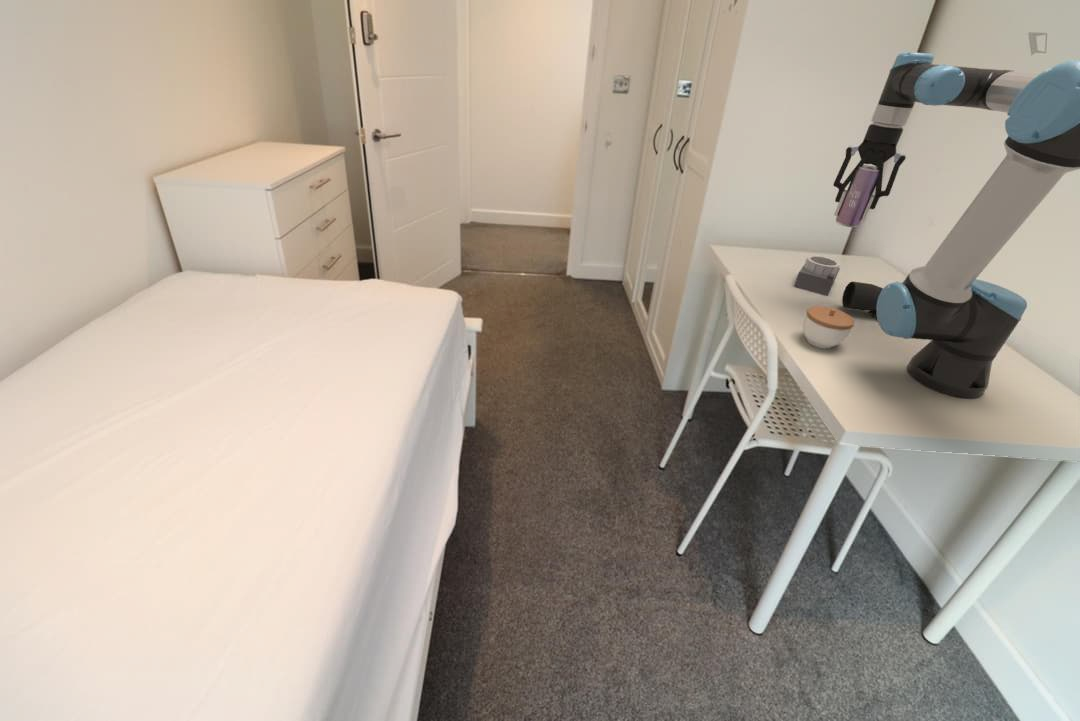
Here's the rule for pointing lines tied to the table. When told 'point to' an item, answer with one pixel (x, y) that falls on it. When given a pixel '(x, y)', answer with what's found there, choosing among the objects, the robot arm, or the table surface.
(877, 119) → the robot arm
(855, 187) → the beverage can
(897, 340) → the table surface
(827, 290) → the grey socket block
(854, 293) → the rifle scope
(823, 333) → the lidded jar
